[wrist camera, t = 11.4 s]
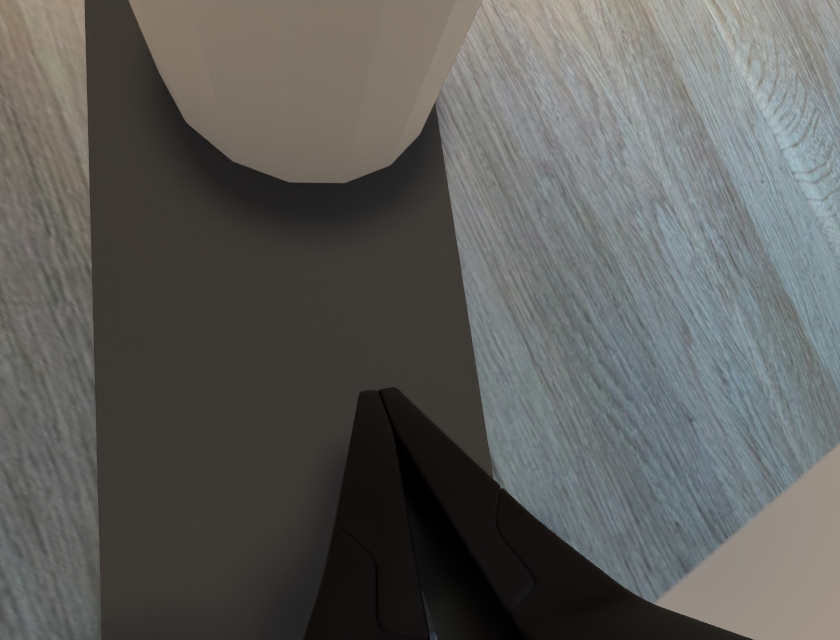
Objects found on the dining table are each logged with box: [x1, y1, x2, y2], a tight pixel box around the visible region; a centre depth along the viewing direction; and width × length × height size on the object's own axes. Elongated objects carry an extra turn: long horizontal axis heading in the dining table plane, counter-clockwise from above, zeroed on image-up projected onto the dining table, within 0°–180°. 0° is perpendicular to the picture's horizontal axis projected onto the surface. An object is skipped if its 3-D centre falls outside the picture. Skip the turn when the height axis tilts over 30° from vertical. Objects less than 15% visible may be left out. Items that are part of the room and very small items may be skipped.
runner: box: [85, 0, 493, 640], centre depth 19 cm, size 32×16×1 cm, turn 8°
